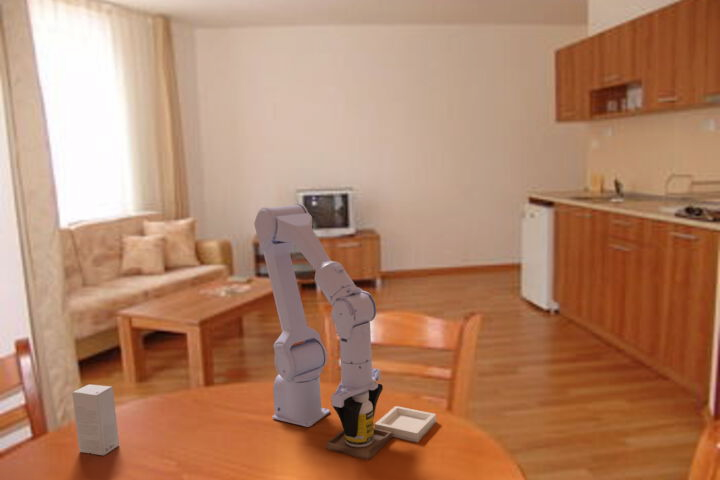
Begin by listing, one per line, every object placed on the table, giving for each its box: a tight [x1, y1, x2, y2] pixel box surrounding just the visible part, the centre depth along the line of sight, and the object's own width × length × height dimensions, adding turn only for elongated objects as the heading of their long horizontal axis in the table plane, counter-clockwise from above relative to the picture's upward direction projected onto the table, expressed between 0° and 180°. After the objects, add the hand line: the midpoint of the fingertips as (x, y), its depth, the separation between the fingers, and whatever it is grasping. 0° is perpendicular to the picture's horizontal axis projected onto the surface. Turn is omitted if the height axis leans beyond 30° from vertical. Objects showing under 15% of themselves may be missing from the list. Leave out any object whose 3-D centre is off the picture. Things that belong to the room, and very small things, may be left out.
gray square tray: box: [325, 427, 393, 461], centre depth 106 cm, size 9×9×1 cm
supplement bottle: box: [345, 390, 374, 448], centre depth 105 cm, size 5×5×10 cm
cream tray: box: [374, 405, 437, 443], centre depth 111 cm, size 9×9×2 cm
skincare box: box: [72, 383, 120, 456], centre depth 107 cm, size 6×4×12 cm
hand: (359, 428), depth 105 cm, fingers closed on supplement bottle, 5 cm apart
